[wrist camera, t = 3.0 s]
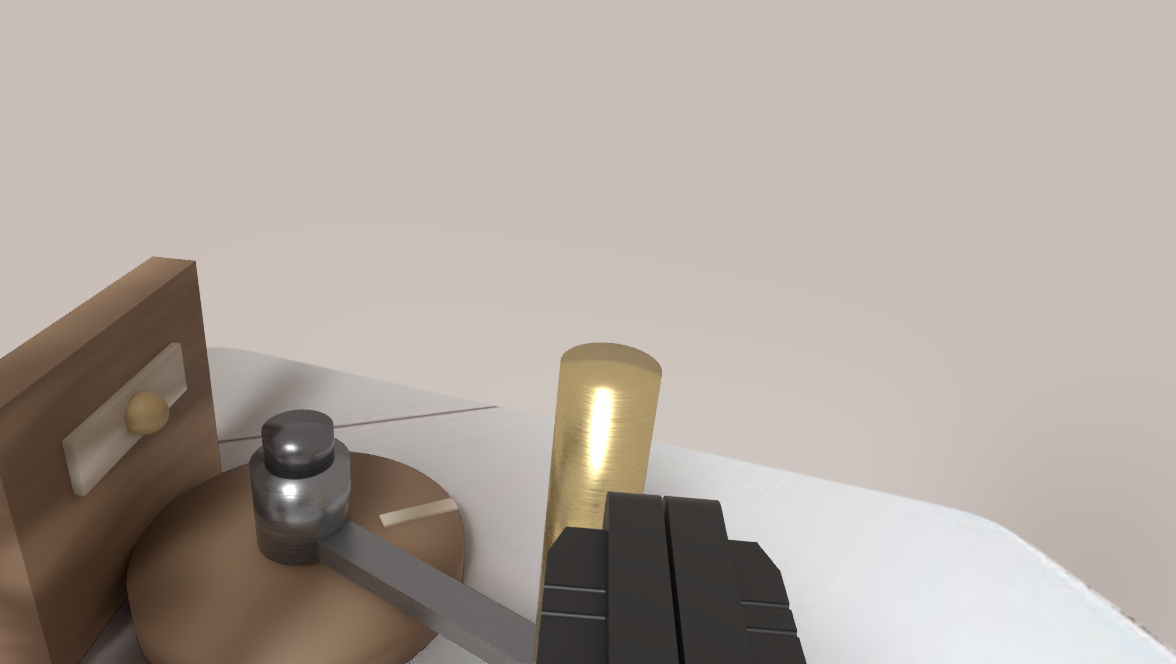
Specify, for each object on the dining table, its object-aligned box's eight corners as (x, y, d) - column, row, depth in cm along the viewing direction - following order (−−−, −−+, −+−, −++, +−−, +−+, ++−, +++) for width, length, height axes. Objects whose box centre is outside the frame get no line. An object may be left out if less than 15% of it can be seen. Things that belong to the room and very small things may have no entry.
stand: (4, 685, 30) (-81, 413, 25) (183, 467, 42) (152, 256, 37) (430, 722, 30) (435, 461, 25) (482, 494, 43) (492, 290, 38)
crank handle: (239, 564, 35) (201, 244, 29) (311, 517, 38) (291, 220, 32) (572, 778, 28) (622, 410, 21) (627, 698, 31) (685, 358, 24)
